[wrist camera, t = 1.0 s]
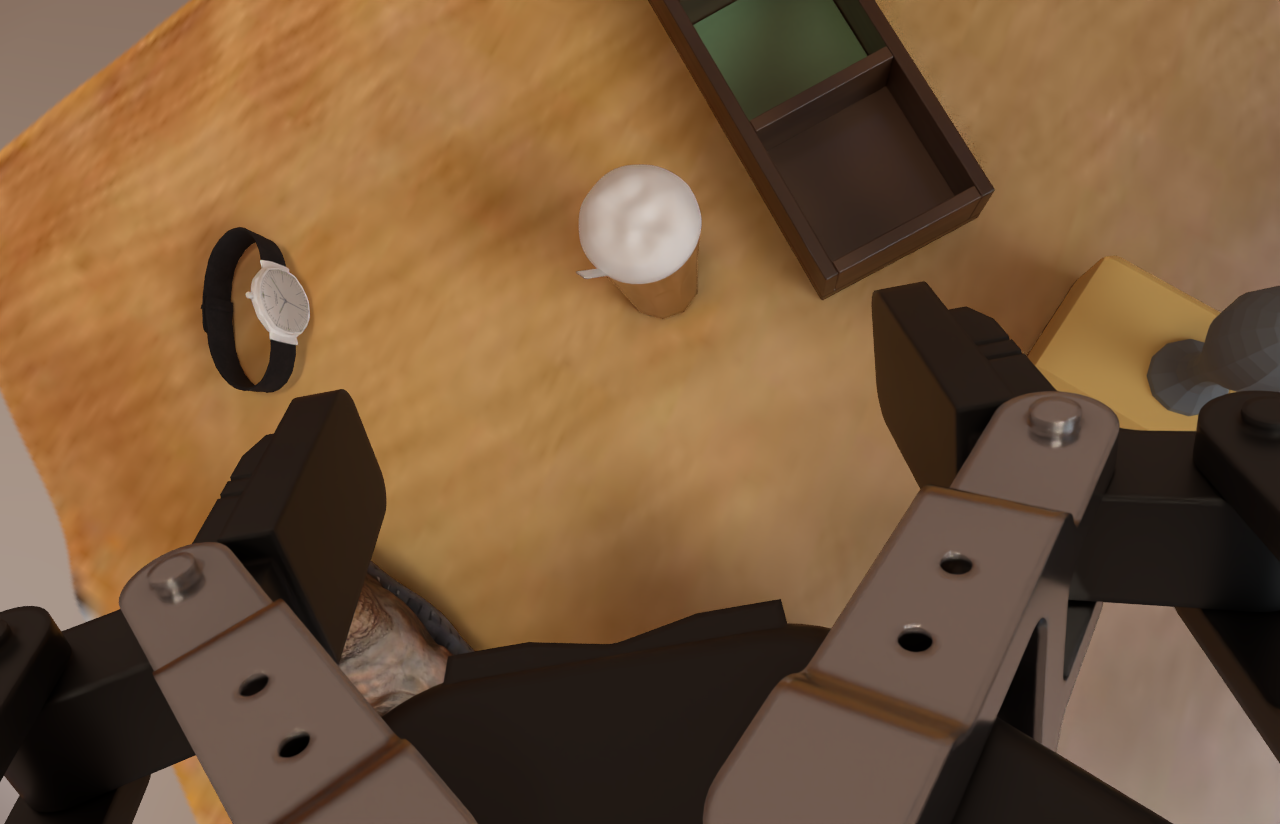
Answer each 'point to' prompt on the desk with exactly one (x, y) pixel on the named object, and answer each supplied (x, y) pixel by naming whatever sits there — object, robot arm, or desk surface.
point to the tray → (830, 128)
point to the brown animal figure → (396, 643)
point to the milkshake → (643, 237)
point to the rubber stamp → (1157, 346)
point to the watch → (273, 302)
